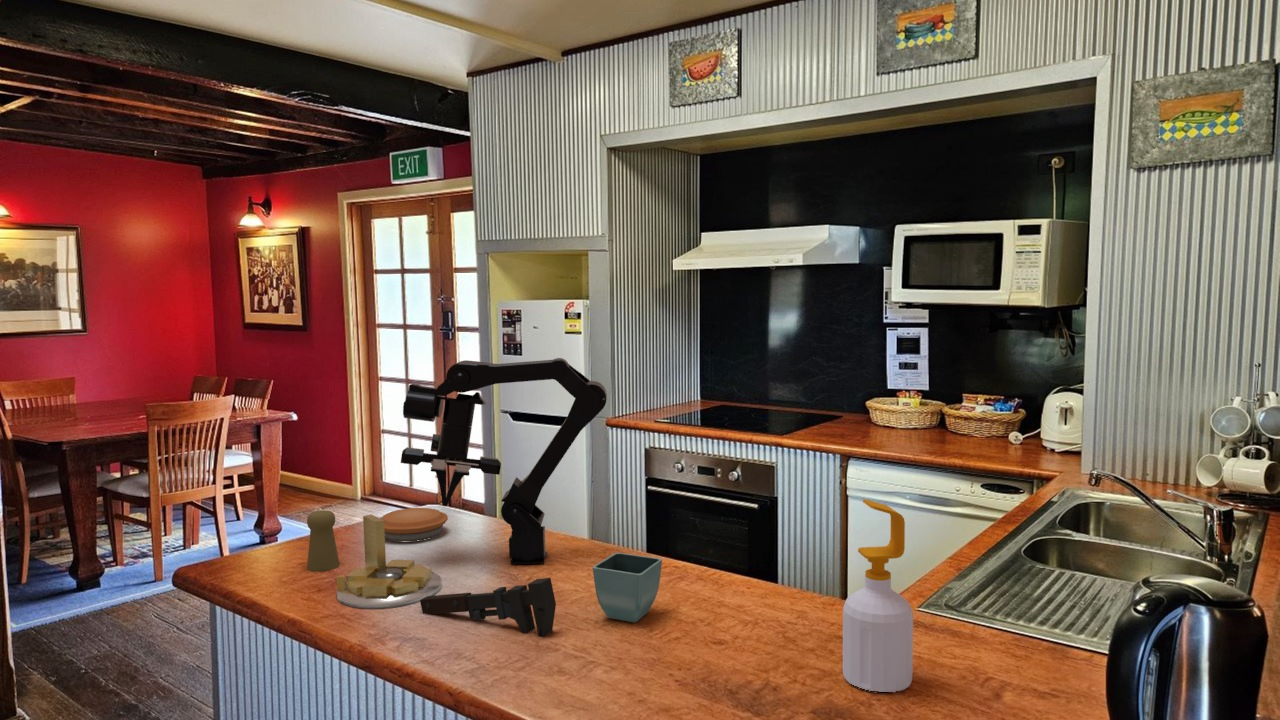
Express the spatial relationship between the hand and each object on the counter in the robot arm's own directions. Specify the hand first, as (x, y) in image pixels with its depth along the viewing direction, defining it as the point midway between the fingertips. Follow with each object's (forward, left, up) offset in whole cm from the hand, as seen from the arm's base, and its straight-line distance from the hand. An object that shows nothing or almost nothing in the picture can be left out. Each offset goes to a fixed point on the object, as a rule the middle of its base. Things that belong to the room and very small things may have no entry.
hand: (444, 505), depth 167 cm
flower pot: (-36, +27, -12) cm, 46 cm away
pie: (+12, -22, -12) cm, 28 cm away
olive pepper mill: (+24, -1, -12) cm, 27 cm away
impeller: (+7, +13, -12) cm, 19 cm away
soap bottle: (-70, +51, -12) cm, 87 cm away
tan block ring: (+8, +12, -11) cm, 18 cm away
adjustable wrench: (-13, +28, -13) cm, 33 cm away
